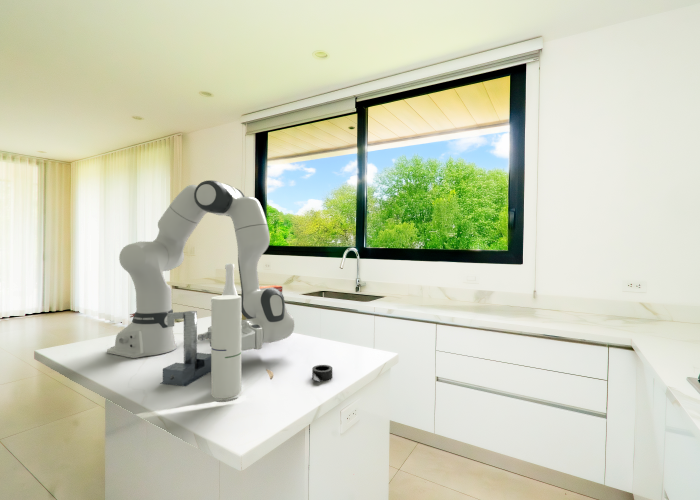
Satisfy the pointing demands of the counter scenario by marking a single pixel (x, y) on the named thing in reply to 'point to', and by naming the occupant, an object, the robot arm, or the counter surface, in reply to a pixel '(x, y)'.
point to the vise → (187, 371)
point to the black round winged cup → (322, 373)
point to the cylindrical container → (225, 346)
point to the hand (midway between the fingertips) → (204, 341)
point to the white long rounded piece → (230, 282)
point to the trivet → (270, 373)
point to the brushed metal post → (187, 334)
